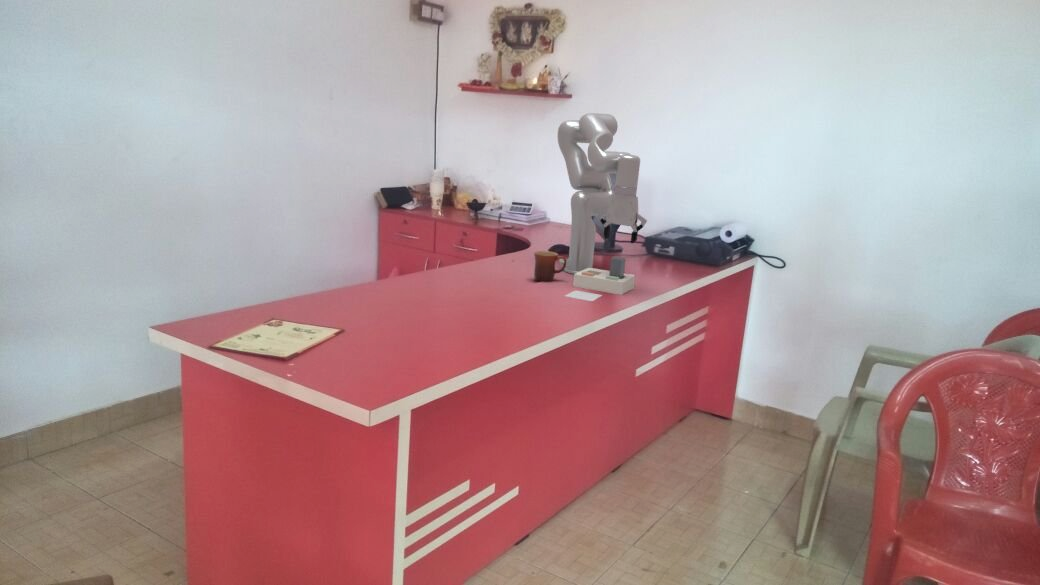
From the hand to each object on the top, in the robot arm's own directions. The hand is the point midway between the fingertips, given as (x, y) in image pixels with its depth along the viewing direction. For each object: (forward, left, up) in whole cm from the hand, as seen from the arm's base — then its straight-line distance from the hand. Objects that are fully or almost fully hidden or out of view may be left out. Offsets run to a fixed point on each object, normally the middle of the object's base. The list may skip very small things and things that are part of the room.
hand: (619, 240), depth 248 cm
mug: (-24, -4, -18) cm, 30 cm away
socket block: (-4, 0, -18) cm, 18 cm away
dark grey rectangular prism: (0, 0, -16) cm, 16 cm away
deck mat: (-5, -17, -18) cm, 25 cm away
